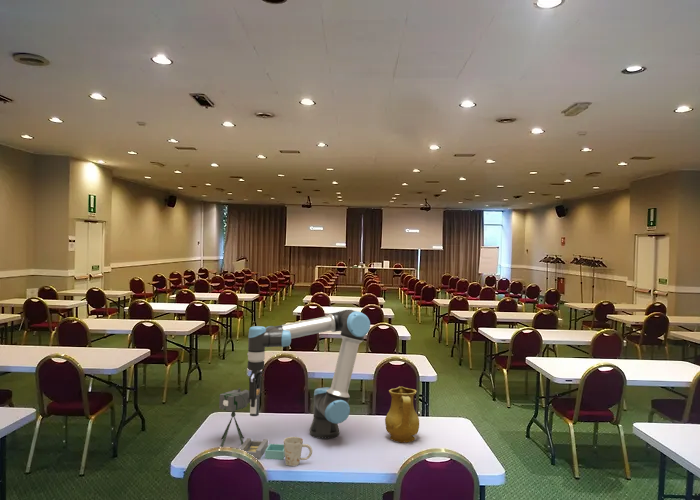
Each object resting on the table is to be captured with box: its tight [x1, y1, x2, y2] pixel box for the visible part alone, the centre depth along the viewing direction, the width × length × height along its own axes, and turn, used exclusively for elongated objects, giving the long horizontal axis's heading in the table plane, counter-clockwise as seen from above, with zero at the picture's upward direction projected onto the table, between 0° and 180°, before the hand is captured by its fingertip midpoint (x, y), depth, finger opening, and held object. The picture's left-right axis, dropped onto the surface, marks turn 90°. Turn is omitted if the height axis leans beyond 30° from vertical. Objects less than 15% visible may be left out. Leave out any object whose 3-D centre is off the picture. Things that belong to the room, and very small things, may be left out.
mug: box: [283, 436, 313, 467], centre depth 210 cm, size 8×13×10 cm, turn 95°
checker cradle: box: [238, 437, 269, 460], centre depth 220 cm, size 10×14×4 cm
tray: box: [264, 443, 285, 461], centre depth 217 cm, size 8×8×4 cm
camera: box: [218, 387, 250, 447], centre depth 233 cm, size 16×16×25 cm
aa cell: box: [249, 387, 261, 417], centre depth 221 cm, size 4×4×13 cm
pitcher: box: [384, 385, 420, 444], centre depth 242 cm, size 17×19×25 cm
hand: (254, 411), depth 221 cm, fingers closed on aa cell, 4 cm apart
